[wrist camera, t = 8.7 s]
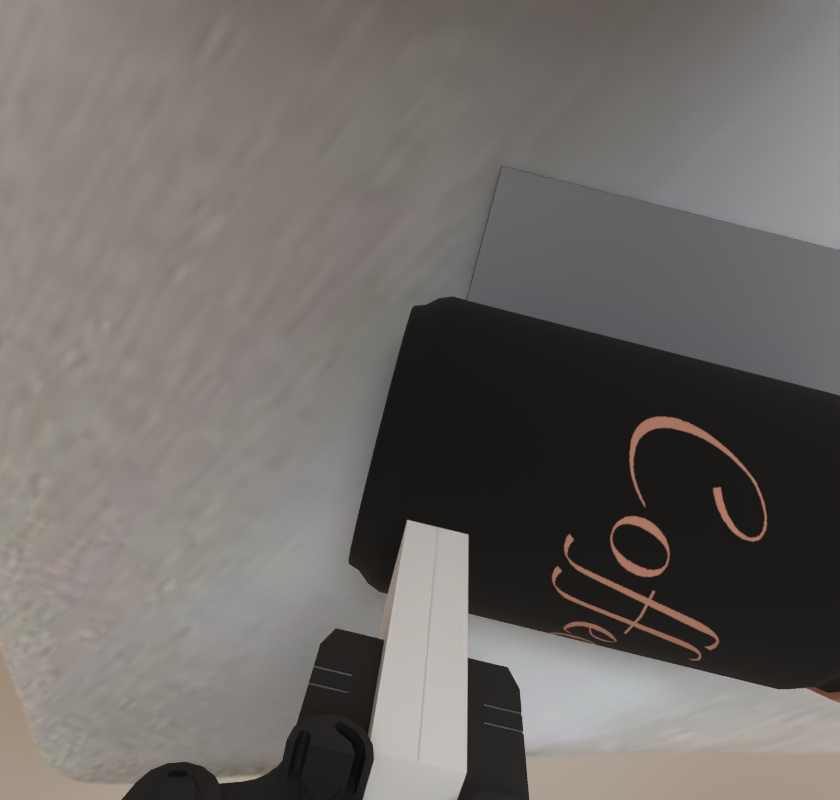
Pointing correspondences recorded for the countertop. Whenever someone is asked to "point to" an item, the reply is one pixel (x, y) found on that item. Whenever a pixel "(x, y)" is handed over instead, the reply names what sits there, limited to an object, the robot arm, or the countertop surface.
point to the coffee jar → (616, 493)
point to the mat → (662, 279)
